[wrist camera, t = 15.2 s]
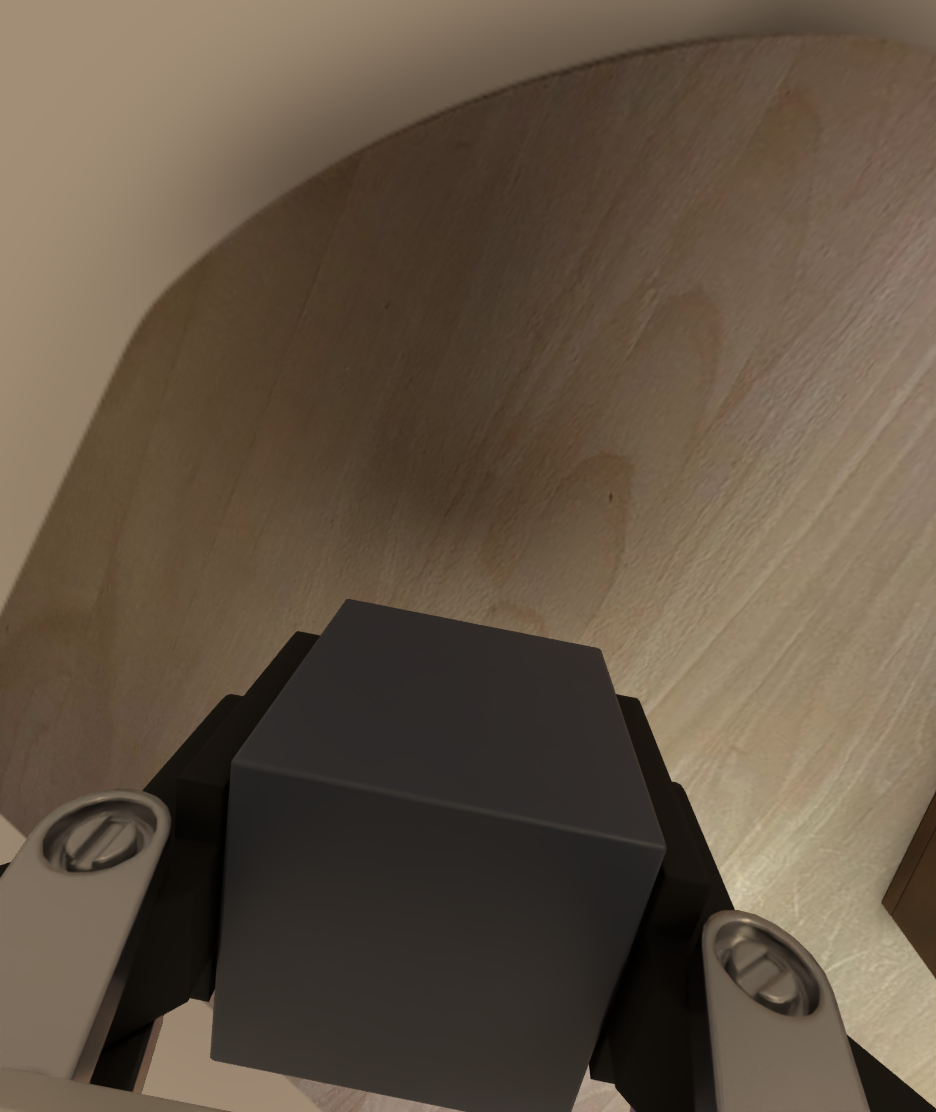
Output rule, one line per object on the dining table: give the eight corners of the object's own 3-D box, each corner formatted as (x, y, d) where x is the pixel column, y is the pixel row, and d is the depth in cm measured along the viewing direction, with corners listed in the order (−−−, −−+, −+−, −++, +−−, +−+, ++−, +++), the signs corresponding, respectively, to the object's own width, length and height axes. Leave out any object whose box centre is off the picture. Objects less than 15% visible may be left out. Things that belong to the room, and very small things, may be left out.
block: (346, 596, 10) (228, 760, 6) (601, 647, 10) (669, 848, 6) (318, 806, 11) (208, 1062, 7) (544, 851, 11) (565, 1135, 7)
